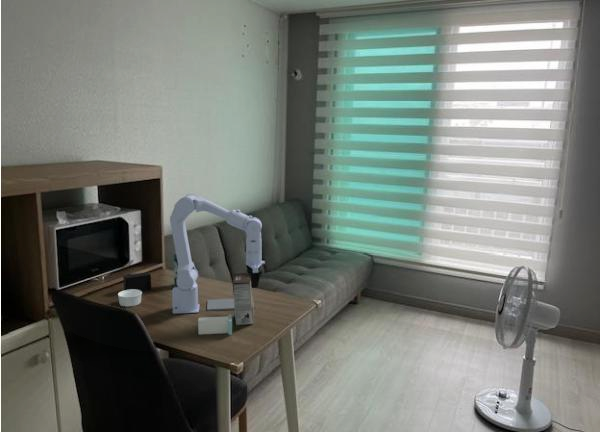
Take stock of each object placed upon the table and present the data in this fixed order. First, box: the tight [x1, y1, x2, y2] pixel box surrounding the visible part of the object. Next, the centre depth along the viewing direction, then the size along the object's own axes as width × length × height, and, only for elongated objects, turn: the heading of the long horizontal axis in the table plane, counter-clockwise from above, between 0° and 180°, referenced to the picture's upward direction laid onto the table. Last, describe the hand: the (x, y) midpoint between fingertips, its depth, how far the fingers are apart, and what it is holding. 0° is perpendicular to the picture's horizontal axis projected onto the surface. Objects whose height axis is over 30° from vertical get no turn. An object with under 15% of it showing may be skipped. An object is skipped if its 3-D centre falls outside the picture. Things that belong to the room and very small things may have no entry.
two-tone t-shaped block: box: [197, 313, 233, 336], centre depth 157 cm, size 11×6×5 cm, turn 99°
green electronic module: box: [172, 251, 178, 288], centre depth 201 cm, size 6×6×15 cm
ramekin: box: [117, 289, 143, 308], centre depth 181 cm, size 9×9×4 cm
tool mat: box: [206, 297, 255, 312], centre depth 181 cm, size 18×10×1 cm, turn 99°
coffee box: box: [231, 272, 255, 326], centre depth 166 cm, size 9×6×16 cm
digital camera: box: [122, 271, 152, 293], centre depth 195 cm, size 10×5×7 cm, turn 122°
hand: (254, 285), depth 174 cm, fingers open, 4 cm apart
